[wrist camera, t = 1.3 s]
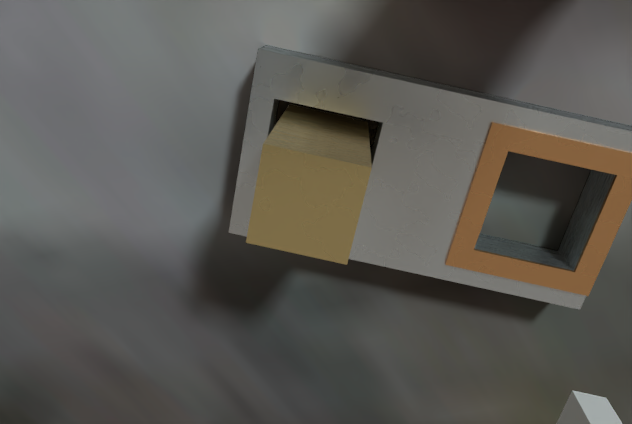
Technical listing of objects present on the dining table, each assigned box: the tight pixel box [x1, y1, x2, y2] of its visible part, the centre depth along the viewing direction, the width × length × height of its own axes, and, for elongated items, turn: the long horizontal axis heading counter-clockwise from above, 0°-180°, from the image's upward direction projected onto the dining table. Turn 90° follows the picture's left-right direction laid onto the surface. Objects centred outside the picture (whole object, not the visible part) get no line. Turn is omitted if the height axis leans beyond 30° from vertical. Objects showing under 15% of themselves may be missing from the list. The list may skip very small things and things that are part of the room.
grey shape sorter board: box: [229, 45, 632, 310], centre depth 29 cm, size 20×10×3 cm, turn 78°
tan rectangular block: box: [246, 104, 372, 265], centre depth 26 cm, size 4×4×9 cm
